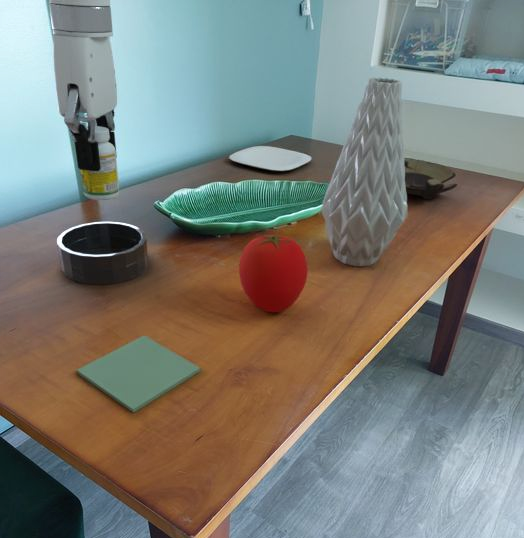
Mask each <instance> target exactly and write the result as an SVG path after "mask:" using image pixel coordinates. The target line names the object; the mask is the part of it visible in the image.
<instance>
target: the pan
mask: <svg viewBox="0 0 524 538" xmlns="http://www.w3.org/2000/svg"><path fill="white" fill-rule="evenodd" d="M56 246H57V252H58V257H59V262H60V269H61V271H62V273H63V275H64V276H65V277H66V278H68V279H69V280H71V281H73V282H76V283H80V284H84V285H92V286H108V285H116V284H121V283H122V284H123V283H126V282H129V281H131V280H134V279H137V278H138V277H140V276H141V275H142V274H143V273H145V272H146V271H147V269H148V266H149V253H148V240H147V235H146V233H145V232H144V230H143V229H142V228H140V227H139V226H135V225H133V224H130V223H125V222H118V221H116V222H115V221H95V222H89V223H88V222H87V223H83V224H78V225H76V226H73V227H70V228H68V229H67V230H64V231H62V232H61V234H60V235H58V237H57V239H56Z"/></svg>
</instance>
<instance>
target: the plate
mask: <svg viewBox="0 0 524 538" xmlns="http://www.w3.org/2000/svg"><path fill="white" fill-rule="evenodd" d="M228 159H229V160H230V161H232V162H233V163H236V164H239V165H243V166H247V167H250V168H253V169H254V168H255V169H258V170H262V171H270V172H290V171H292V170H296V169H298V168H300V167H302V166H305V165H307V164H309V162H311V161H312V156H310V155H308V154H306V153H302V152H299V151H294V150H290V149H286V148H281V147H276V146H269V145H267V146H266V145H258V146H252V147H251V146H250V147H247V148H244V149H240V150H238V151H236V152H233V153H232V154H229V157H228Z"/></svg>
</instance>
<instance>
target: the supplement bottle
mask: <svg viewBox="0 0 524 538" xmlns="http://www.w3.org/2000/svg"><path fill="white" fill-rule="evenodd" d="M85 127H86V129H87V130H88V125H87V126H85ZM109 138H110V136H109V129H108V128H105V127H100V126H95V142H98V148H99V157H100V166H101V169H100V170H99V171H89V170H81V169H79V171H80V178H81V187H82V192H83V195H84V196H85V197H86V198H87V199H90V200H92V201H93V200H94V201H108V200H112V199H115V198H117V197H118V196H119V195H120V183H119V174H118V163H117V158H116V155H117V150H116V151H115V147H114V146H113V145H112V144H111V143H109V142H108V140H109Z"/></svg>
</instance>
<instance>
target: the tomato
mask: <svg viewBox="0 0 524 538" xmlns="http://www.w3.org/2000/svg"><path fill="white" fill-rule="evenodd" d="M280 234H281V232H279V233H277V234H267V235H264V234H263V235H262V234H259V237H256V238H254V239H251V240H250V241H249V242H248V243H247V244H246V246H244V248H243V250H242V252H241V254H240V258H239V263H238V275H239V280H240V284H241V287H242V290H243V292H244V294H245V295H246V297H247V298H248V300H249V301H250V302H251V303H252V304H253V305H254V306H255V307H256V308H258V309H260V310H262V311H265V312H268V313H281V312H284V311H285V310H287V309H289V308H291V307H292V306H293V305H294V304H295V302H296V301H297V300H298V299H299V297H300V296H301V294H302V293H303V290H304V288H305V286H306V283H307V278H308V263H307V259H306V256H305V253H304V251H303V249H302V247H301V246H300V245H299V243H297V242H296V241H295V240H294V239H292V238H290V237H287V236H284V235H280Z"/></svg>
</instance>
